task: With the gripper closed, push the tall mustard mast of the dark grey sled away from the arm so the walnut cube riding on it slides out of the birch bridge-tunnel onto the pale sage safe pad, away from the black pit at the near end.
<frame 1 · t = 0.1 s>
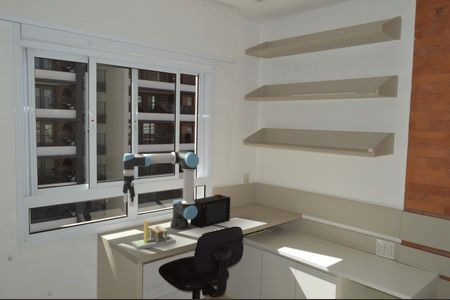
hand: (128, 204, 247), 28 cm above the table, fingers open, 13 cm apart
speaker: (209, 222, 303), on the table
deck: (153, 243, 247), on the table
tunnel: (158, 242, 249), resting on deck
block: (158, 237, 249), point 3 cm above the table, touching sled
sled: (154, 229, 247), point 10 cm above the table, slide at 0.0 cm, touching block
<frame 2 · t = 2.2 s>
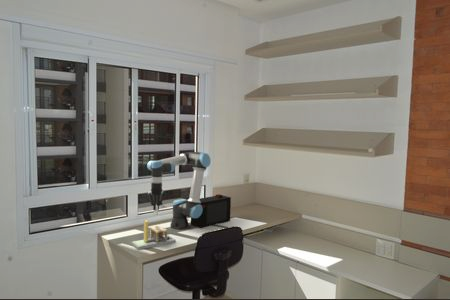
hand: (155, 214, 246), 21 cm above the table, fingers closed
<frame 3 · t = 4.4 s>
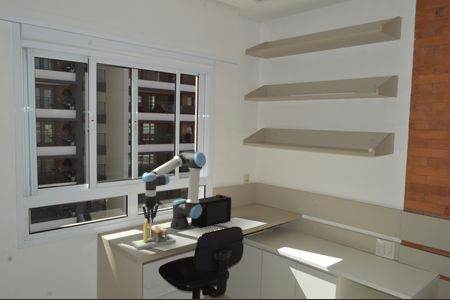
hand: (150, 227, 244), 12 cm above the table, fingers closed
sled: (153, 229, 246), point 10 cm above the table, slide at 0.4 cm, touching block, gripper
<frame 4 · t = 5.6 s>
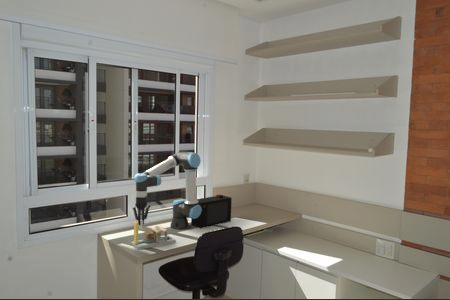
hand: (140, 229, 240), 12 cm above the table, fingers closed
block: (149, 239, 245), point 3 cm above the table, touching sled
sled: (144, 231, 242), point 10 cm above the table, slide at 7.2 cm, touching block, gripper
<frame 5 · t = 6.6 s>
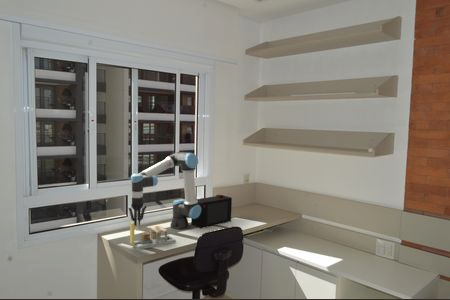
hand: (136, 229, 239), 12 cm above the table, fingers closed
block: (145, 240, 243), point 3 cm above the table, touching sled
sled: (141, 232, 241), point 10 cm above the table, slide at 10.1 cm, touching block, gripper
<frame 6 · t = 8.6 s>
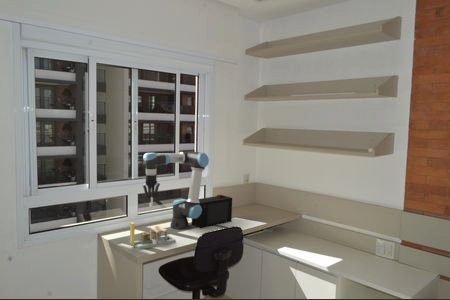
hand: (151, 206, 246), 27 cm above the table, fingers closed
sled: (141, 232, 241), point 10 cm above the table, slide at 10.0 cm, touching block
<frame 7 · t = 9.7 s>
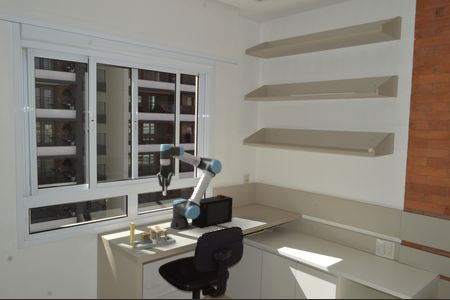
hand: (164, 195, 260), 32 cm above the table, fingers closed
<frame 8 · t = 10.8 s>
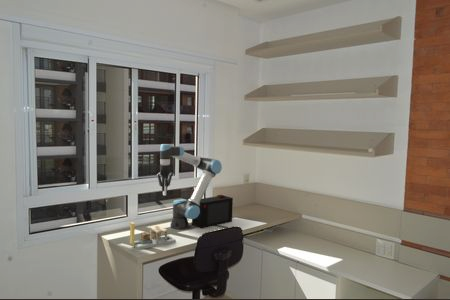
hand: (164, 195, 260), 32 cm above the table, fingers closed
at the end: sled slide at 10.0 cm; block inside the target area (0.2 cm from its centre), point 3.5 cm above the table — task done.
